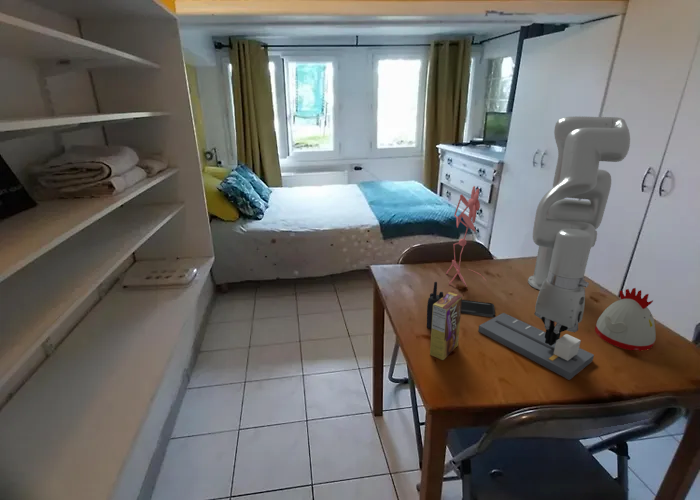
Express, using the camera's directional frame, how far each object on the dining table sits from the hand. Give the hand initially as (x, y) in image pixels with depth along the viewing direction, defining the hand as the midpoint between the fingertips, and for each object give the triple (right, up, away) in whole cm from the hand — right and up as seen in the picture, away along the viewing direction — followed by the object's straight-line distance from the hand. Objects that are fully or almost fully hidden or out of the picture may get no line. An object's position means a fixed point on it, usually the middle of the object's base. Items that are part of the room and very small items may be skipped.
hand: (550, 342), depth 101 cm
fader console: (-3, -2, +5) cm, 6 cm away
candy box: (-27, -3, +3) cm, 28 cm away
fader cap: (+2, -2, -3) cm, 4 cm away
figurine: (-9, +13, +43) cm, 46 cm away
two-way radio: (-28, +2, +14) cm, 31 cm away
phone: (-14, +5, +24) cm, 28 cm away
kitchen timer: (+25, -1, +9) cm, 27 cm away
